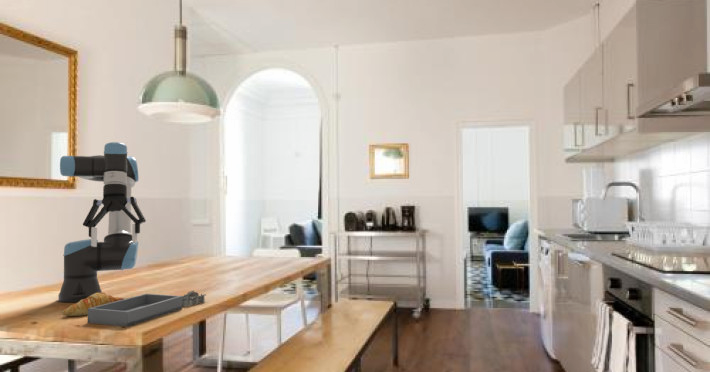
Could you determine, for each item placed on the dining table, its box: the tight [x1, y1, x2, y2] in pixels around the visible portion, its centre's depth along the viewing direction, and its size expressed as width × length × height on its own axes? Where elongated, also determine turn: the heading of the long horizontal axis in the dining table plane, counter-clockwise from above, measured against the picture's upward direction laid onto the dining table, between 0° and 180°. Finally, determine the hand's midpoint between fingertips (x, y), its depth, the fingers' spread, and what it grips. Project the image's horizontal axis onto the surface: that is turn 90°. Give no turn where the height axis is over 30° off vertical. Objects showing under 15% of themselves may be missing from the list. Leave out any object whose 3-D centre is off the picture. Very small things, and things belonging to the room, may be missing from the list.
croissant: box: [61, 292, 124, 317], centre depth 173 cm, size 21×10×8 cm, turn 146°
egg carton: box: [181, 290, 207, 307], centre depth 186 cm, size 11×8×4 cm
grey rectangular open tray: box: [87, 293, 183, 327], centre depth 167 cm, size 16×26×4 cm, turn 161°
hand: (114, 244), depth 170 cm, fingers open, 13 cm apart
